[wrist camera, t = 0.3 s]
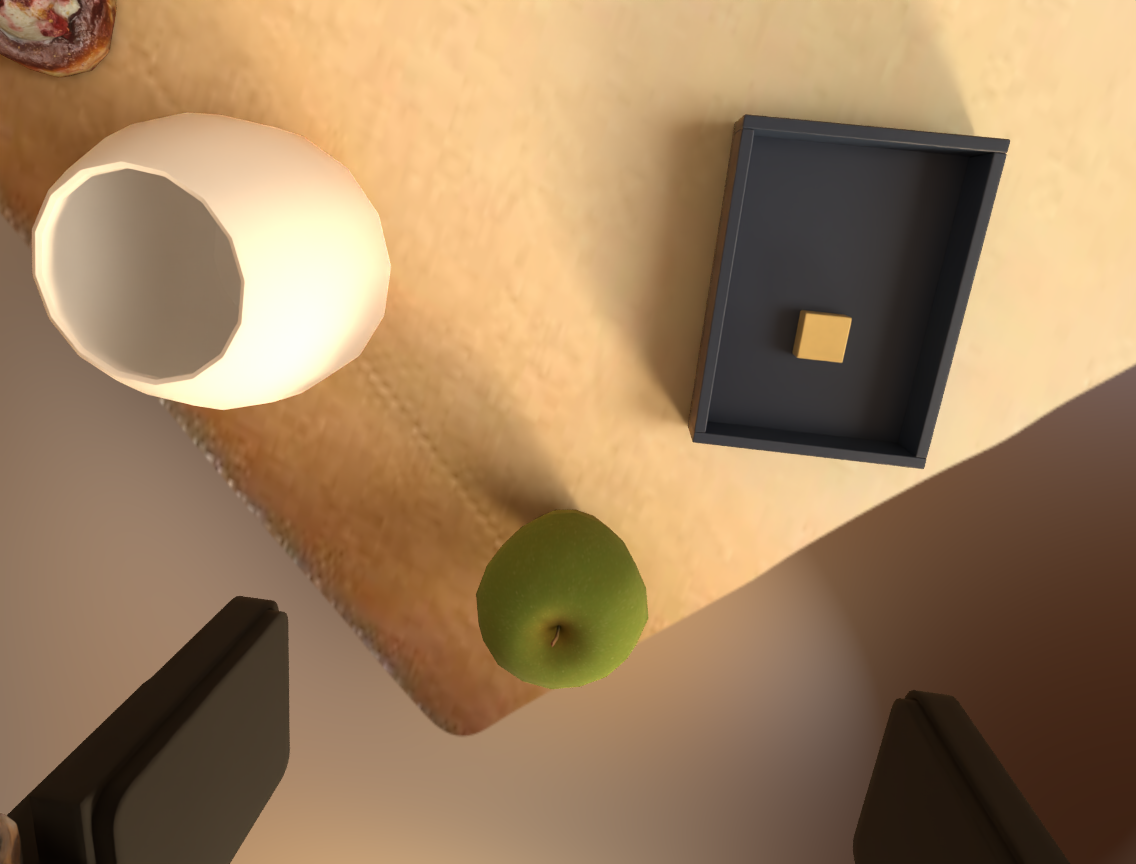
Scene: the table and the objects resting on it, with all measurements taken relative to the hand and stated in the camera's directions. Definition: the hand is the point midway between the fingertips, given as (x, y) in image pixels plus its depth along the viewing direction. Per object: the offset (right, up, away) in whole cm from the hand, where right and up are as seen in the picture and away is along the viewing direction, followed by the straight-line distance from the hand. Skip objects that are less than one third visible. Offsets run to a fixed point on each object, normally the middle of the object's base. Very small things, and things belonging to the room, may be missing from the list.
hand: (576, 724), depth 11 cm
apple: (0, -2, +33) cm, 33 cm away
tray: (+14, +12, +27) cm, 33 cm away
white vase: (-15, +14, +29) cm, 36 cm away
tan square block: (+13, +10, +27) cm, 32 cm away
